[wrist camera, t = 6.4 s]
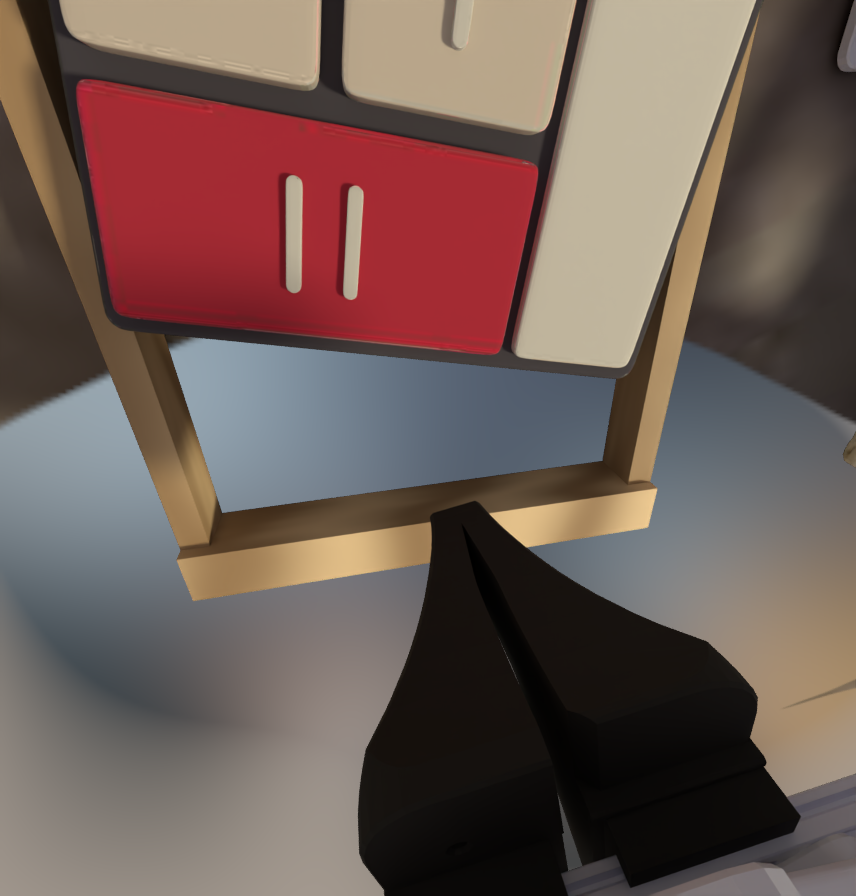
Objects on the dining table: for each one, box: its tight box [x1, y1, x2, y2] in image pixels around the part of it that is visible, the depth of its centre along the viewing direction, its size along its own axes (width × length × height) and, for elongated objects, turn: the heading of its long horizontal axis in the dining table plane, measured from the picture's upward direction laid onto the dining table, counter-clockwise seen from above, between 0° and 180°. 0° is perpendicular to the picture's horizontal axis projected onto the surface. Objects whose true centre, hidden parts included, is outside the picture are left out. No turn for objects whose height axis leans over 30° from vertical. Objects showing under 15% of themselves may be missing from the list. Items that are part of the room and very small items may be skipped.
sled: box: [0, 0, 760, 601], centre depth 14 cm, size 18×21×2 cm
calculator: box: [48, 0, 764, 379], centre depth 12 cm, size 11×4×15 cm
